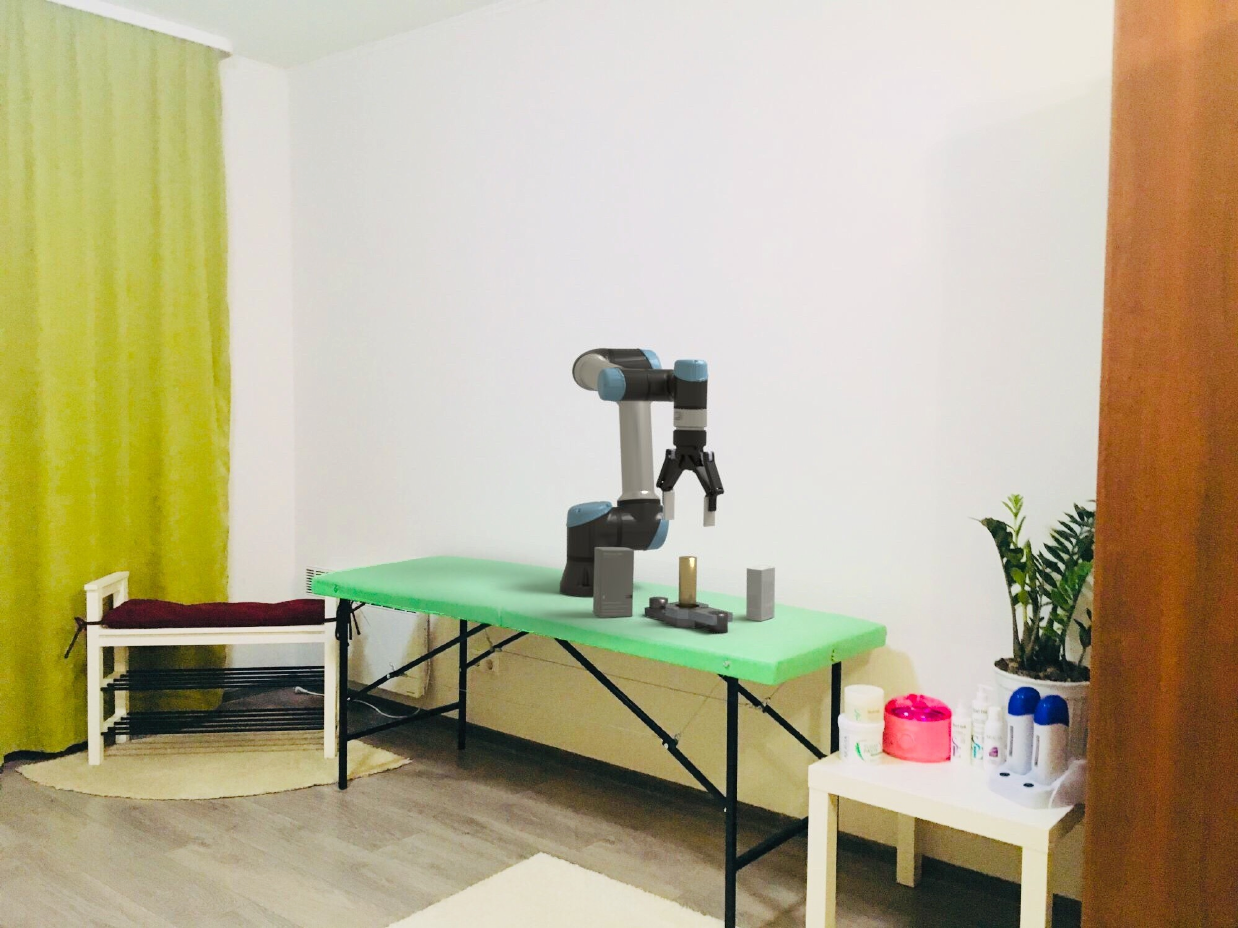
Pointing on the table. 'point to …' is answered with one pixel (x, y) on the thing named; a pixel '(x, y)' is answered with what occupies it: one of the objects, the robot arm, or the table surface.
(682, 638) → the table surface
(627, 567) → the skincare box
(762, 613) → the skincare box
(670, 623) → the grey socket base
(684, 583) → the brass pin
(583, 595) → the robot arm
